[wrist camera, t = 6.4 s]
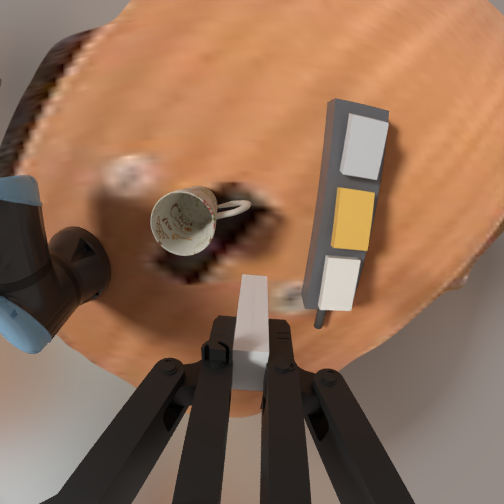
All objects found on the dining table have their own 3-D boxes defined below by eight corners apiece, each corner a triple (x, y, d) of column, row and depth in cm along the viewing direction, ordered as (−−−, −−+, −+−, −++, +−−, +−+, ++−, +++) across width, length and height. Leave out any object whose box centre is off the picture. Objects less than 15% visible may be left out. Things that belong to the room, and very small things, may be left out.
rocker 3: (317, 305, 41) (319, 309, 40) (325, 255, 39) (328, 257, 38) (347, 306, 41) (350, 310, 40) (356, 257, 39) (360, 260, 38)
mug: (167, 185, 41) (142, 200, 32) (246, 167, 39) (241, 176, 30) (181, 234, 44) (161, 260, 35) (257, 219, 43) (256, 244, 34)
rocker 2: (330, 245, 37) (333, 247, 36) (337, 187, 35) (340, 187, 34) (363, 248, 37) (367, 250, 36) (370, 192, 35) (374, 192, 34)
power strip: (296, 320, 50) (299, 339, 45) (327, 102, 35) (337, 97, 30) (336, 321, 50) (342, 340, 45) (376, 112, 35) (391, 110, 30)
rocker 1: (339, 170, 34) (342, 174, 33) (349, 113, 30) (352, 114, 29) (372, 176, 34) (376, 180, 33) (384, 121, 30) (388, 123, 29)
